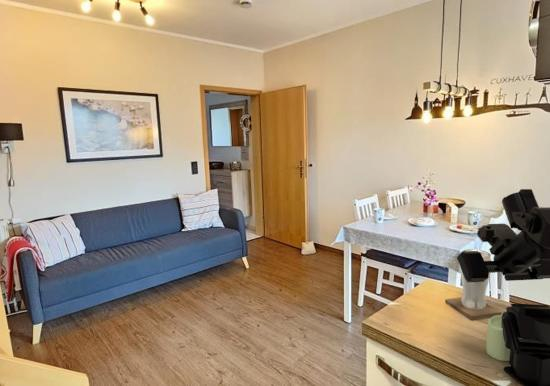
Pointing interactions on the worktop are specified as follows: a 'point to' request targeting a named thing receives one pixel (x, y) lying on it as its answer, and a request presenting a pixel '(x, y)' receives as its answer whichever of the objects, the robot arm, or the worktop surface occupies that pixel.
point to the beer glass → (475, 289)
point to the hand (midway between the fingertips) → (486, 279)
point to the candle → (496, 339)
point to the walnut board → (472, 314)
